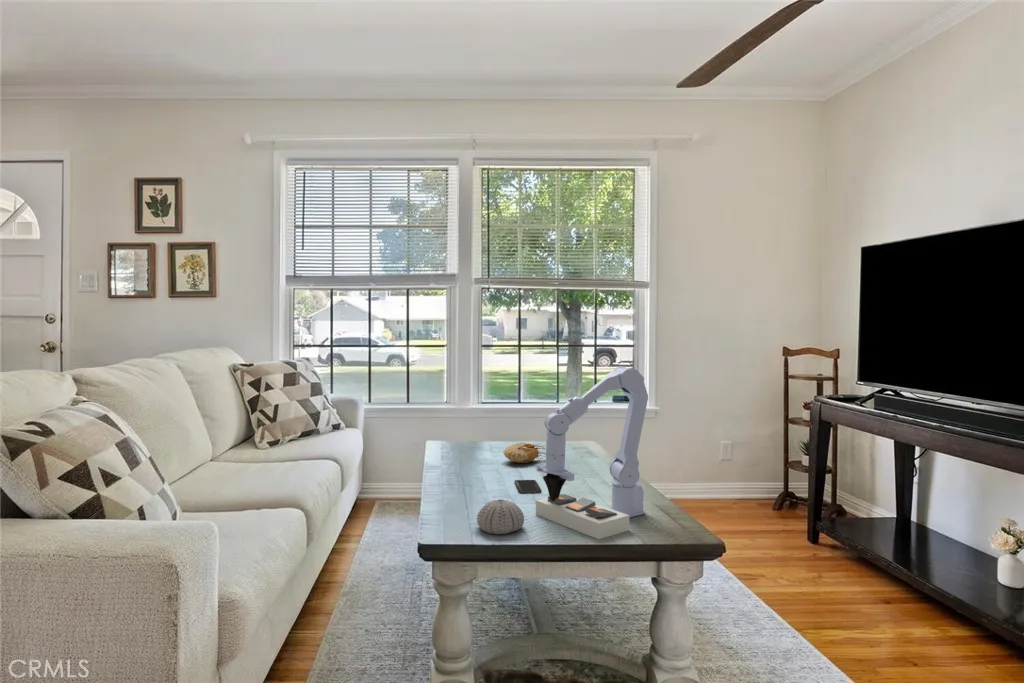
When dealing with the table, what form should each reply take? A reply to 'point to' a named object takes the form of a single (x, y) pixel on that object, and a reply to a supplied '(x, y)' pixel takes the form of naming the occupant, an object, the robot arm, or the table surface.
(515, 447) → the nautilus
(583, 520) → the rocker switch panel
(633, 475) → the robot arm
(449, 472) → the table surface
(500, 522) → the sea urchin shell
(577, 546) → the table surface
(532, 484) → the phone
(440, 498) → the table surface
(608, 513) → the rocker
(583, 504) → the rocker middle
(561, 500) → the rocker
